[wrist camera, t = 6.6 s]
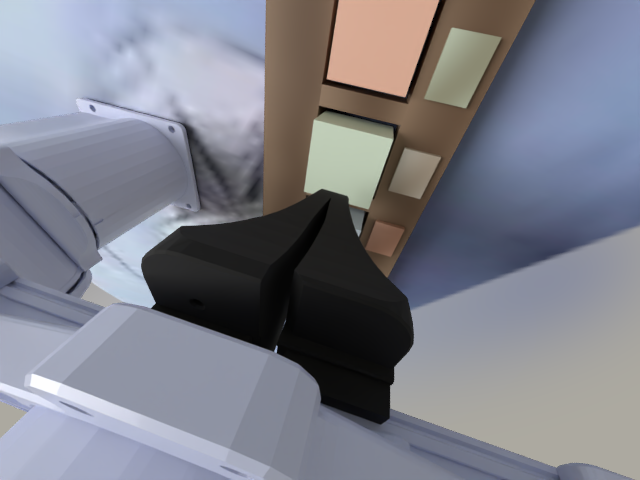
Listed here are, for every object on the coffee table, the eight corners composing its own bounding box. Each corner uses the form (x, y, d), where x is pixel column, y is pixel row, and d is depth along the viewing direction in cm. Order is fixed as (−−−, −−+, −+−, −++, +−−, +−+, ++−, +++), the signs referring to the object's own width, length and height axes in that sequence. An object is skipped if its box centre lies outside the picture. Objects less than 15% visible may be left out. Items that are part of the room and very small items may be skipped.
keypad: (271, 266, 26) (260, 285, 24) (304, -364, 7) (267, -541, 5) (368, 296, 25) (366, 318, 23) (682, -338, 6) (830, -541, 4)
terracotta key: (336, 76, 14) (326, 79, 12) (354, -23, 11) (345, -43, 9) (403, 91, 14) (405, 97, 11) (436, -7, 11) (447, -24, 9)
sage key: (315, 174, 16) (303, 191, 14) (326, 110, 14) (313, 119, 11) (371, 189, 16) (368, 209, 14) (393, 126, 13) (393, 139, 11)
